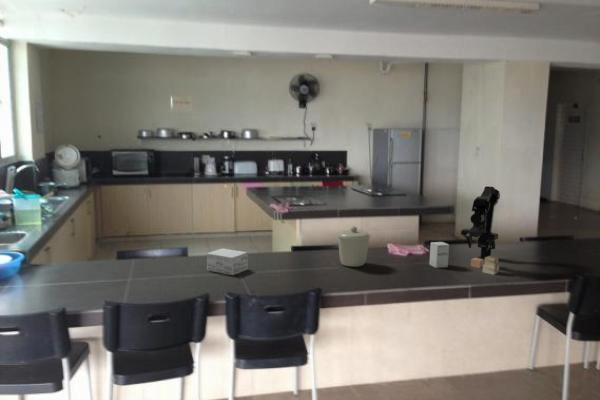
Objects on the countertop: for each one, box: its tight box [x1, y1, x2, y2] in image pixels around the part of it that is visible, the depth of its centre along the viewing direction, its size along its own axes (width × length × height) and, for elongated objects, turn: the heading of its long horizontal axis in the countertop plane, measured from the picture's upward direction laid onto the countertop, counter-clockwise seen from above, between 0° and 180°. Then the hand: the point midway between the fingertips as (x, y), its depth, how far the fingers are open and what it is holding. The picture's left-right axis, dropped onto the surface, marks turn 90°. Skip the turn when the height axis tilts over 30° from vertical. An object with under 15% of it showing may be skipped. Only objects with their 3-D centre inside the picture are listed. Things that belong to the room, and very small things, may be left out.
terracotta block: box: [470, 257, 485, 269], centre depth 280 cm, size 5×5×4 cm
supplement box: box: [428, 241, 450, 269], centre depth 279 cm, size 7×7×13 cm
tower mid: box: [484, 255, 499, 267], centre depth 268 cm, size 5×5×4 cm
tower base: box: [482, 264, 500, 276], centre depth 269 cm, size 6×6×4 cm
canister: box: [336, 225, 371, 268], centre depth 278 cm, size 18×18×21 cm
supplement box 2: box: [206, 248, 249, 276], centre depth 265 cm, size 17×13×9 cm
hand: (478, 249), depth 279 cm, fingers open, 9 cm apart
